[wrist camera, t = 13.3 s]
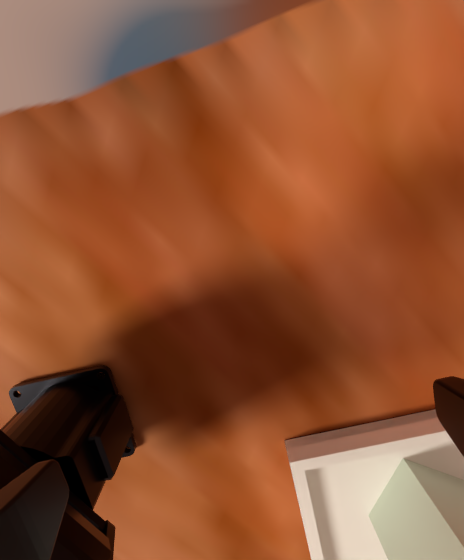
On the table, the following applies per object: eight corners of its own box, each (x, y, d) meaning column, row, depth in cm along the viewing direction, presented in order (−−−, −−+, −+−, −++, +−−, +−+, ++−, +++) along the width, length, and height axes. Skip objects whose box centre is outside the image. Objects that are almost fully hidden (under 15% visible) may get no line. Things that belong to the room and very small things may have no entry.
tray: (314, 573, 26) (321, 604, 24) (284, 440, 23) (289, 462, 21) (527, 533, 25) (552, 561, 23) (522, 391, 22) (550, 409, 20)
